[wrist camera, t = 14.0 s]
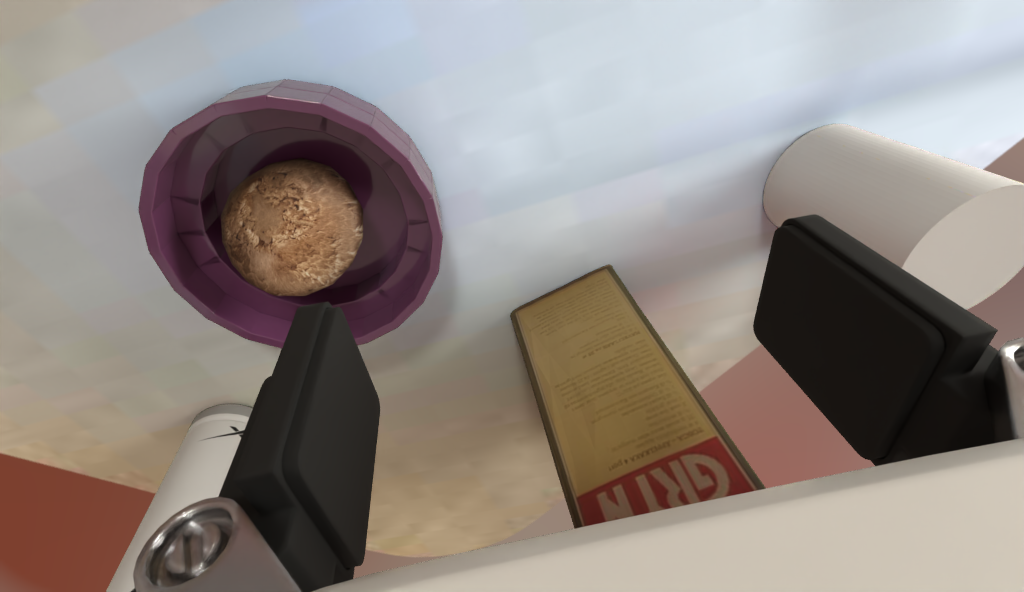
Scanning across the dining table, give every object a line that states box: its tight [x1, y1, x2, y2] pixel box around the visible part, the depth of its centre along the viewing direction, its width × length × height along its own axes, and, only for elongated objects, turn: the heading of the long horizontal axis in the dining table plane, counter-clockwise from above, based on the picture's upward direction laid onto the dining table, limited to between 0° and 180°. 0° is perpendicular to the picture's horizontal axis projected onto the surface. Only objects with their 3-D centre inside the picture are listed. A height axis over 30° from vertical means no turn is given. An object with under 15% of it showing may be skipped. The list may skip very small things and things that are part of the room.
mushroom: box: [221, 158, 363, 296], centre depth 28 cm, size 8×8×6 cm
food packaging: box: [510, 265, 766, 529], centre depth 30 cm, size 13×9×25 cm
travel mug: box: [106, 404, 253, 592], centre depth 31 cm, size 6×7×20 cm
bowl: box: [139, 79, 443, 348], centre depth 28 cm, size 15×15×5 cm
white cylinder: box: [763, 124, 1024, 310], centre depth 30 cm, size 8×8×12 cm
